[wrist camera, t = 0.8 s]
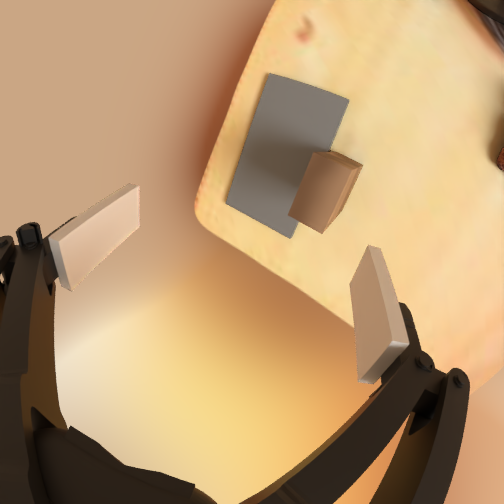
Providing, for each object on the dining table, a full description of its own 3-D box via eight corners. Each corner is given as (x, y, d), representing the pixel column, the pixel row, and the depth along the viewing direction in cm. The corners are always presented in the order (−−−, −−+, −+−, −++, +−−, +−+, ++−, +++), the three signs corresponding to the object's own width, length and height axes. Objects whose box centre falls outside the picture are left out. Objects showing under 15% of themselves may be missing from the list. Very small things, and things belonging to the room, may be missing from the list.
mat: (349, 100, 30) (348, 99, 30) (291, 237, 42) (290, 238, 41) (271, 74, 34) (269, 73, 33) (228, 202, 45) (225, 203, 44)
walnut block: (363, 165, 33) (351, 170, 23) (342, 209, 36) (322, 234, 27) (336, 152, 34) (313, 151, 24) (317, 196, 37) (287, 215, 28)
